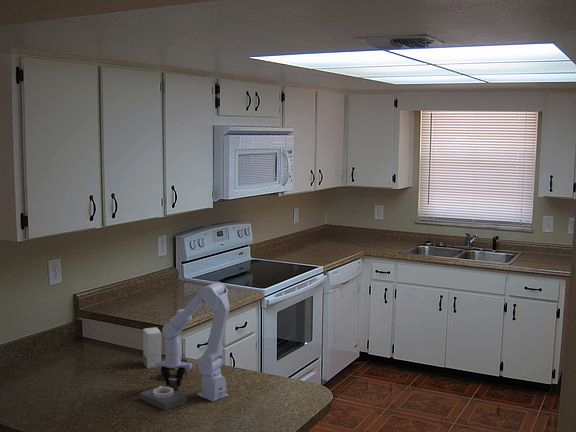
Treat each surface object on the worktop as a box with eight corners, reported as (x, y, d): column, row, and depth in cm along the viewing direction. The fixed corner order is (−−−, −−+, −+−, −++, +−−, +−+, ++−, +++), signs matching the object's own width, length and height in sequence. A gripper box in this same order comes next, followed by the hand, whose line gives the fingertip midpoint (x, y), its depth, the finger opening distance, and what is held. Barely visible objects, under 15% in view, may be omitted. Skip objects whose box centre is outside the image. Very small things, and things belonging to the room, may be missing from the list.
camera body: (187, 402, 253) (186, 392, 252) (165, 410, 246) (165, 400, 245) (162, 391, 264) (161, 381, 263) (140, 398, 257) (140, 388, 256)
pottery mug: (180, 383, 274) (169, 366, 273) (166, 388, 280) (155, 372, 279) (197, 367, 284) (187, 351, 283) (183, 372, 289) (173, 356, 289)
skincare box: (143, 362, 298) (142, 328, 296) (157, 360, 300) (156, 326, 298) (147, 368, 290) (146, 333, 288) (162, 366, 293) (161, 331, 291)
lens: (181, 388, 267) (180, 374, 266) (172, 391, 264) (172, 376, 263) (174, 386, 270) (174, 371, 269) (166, 388, 267) (166, 374, 266)
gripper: (193, 349, 268) (194, 382, 269) (158, 348, 270) (159, 380, 272) (188, 355, 261) (189, 389, 262) (152, 353, 263) (153, 387, 265)
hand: (173, 385), depth 266 cm, fingers closed on lens, 4 cm apart
